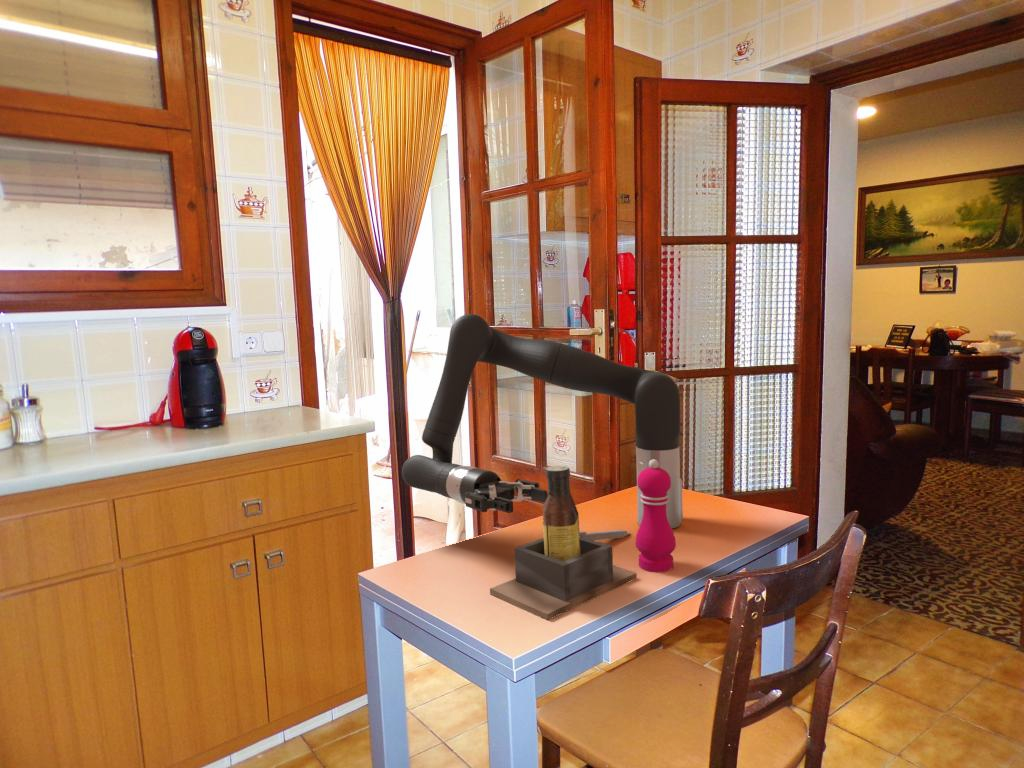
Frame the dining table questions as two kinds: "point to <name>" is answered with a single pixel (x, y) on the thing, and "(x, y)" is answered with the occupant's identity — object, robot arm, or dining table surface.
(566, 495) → the sauce bottle
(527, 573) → the bottle caddy
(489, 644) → the dining table surface
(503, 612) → the dining table surface
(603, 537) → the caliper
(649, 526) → the pepper mill
